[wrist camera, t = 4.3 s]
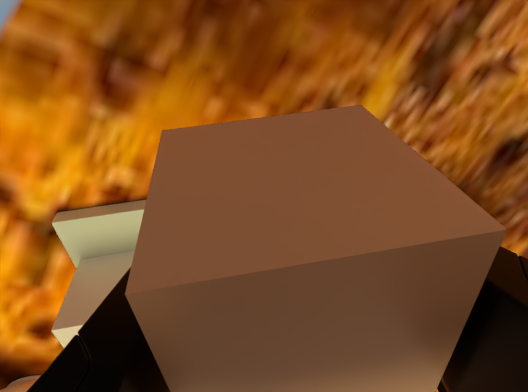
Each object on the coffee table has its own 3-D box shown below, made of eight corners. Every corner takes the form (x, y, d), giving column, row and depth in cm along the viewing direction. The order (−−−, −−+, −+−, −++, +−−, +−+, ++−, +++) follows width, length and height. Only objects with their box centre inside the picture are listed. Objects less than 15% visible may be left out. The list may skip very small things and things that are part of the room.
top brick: (360, 104, 9) (507, 229, 5) (347, 248, 11) (429, 405, 7) (162, 130, 8) (124, 293, 4) (199, 273, 11) (199, 453, 7)
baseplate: (242, 185, 21) (243, 194, 20) (256, 300, 27) (258, 310, 26) (57, 212, 20) (51, 222, 19) (116, 324, 26) (113, 336, 25)
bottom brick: (241, 234, 22) (250, 295, 18) (248, 286, 25) (258, 349, 20) (80, 259, 21) (51, 330, 17) (107, 310, 24) (88, 381, 20)
